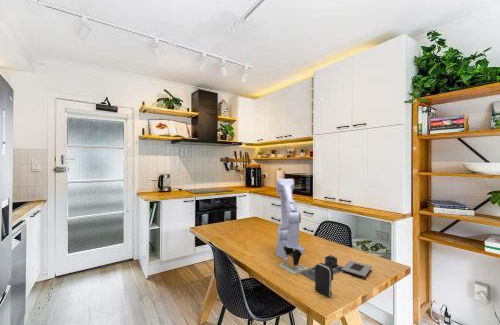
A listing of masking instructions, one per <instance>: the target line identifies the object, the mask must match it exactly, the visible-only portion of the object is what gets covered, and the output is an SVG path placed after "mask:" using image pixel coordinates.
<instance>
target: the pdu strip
mask: <svg viewBox="0 0 500 325" xmlns="http://www.w3.org/2000/svg"><path fill="white" fill-rule="evenodd" d="M323 264H325V265H328V266H330V267H331V268H332V269H333V275H336V274H338V273H341V272H343V271H342V270H341V269H342V268H343V267H344V266H342V265H340V264H338V258H337V257H335V256H334V255H332V254H329V255H326V256H324V263H323ZM315 266H316V265H315ZM315 266H312V267H309V268H308V267H307V268H308V270H306V271H303V272H301V275H302V276H304V277H306V278H308V279H310V280H311V281H313V282H315Z"/></svg>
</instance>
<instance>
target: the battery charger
mask: <svg viewBox="0 0 500 325" xmlns="http://www.w3.org/2000/svg"><path fill="white" fill-rule="evenodd" d="M332 281H334V274H333V269H332V268H331V267H330V266H328V265H325V264H324V263H323V262H319V263H317V264H315V281H314V282H315V283H314V290H315V291H316V292H317V293H318V294H320V295H323V296H325V297H326V298H330V297H331V296H332V295H333V294H332Z"/></svg>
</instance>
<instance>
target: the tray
mask: <svg viewBox="0 0 500 325" xmlns="http://www.w3.org/2000/svg"><path fill="white" fill-rule="evenodd" d="M278 266H279V267H280V268H282V269H284V270H286V271H287V272H289V273H290V274H292V275H296V274H300V273H302V272H304V271H307V270H308V267H307V266H304V265H303V264H300V263H299V266H297V267H294V268H292V267H290V266H288V265H287V261H285V262H282V263H279V264H278Z"/></svg>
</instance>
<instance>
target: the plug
mask: <svg viewBox="0 0 500 325" xmlns="http://www.w3.org/2000/svg"><path fill="white" fill-rule="evenodd" d="M286 262H287V265H288V266H290V267H292V268H294V267H297V266H299V264H300V263H298V265H294V258H293V254H292V253H291V254H289V255H287V260H286Z"/></svg>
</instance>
